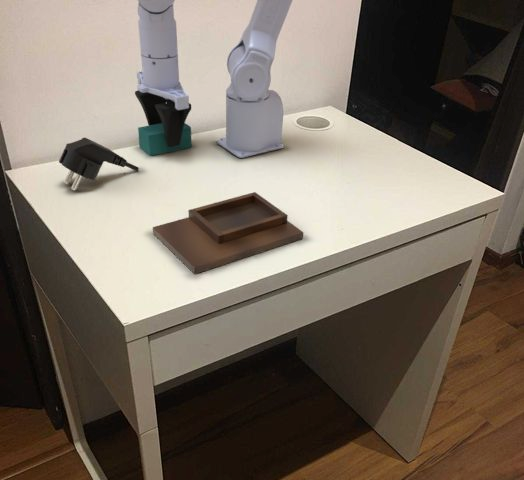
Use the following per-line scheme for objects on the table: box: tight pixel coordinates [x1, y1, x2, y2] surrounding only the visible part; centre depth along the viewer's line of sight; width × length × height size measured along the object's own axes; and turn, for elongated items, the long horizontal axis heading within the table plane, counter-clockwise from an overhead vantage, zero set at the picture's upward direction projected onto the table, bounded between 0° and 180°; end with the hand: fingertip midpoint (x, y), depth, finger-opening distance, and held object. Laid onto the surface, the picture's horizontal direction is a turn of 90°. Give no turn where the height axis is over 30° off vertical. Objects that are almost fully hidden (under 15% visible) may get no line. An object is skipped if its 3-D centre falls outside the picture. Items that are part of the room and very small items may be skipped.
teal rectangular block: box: [137, 122, 193, 157], centre depth 100 cm, size 8×4×4 cm, turn 124°
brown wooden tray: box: [152, 191, 304, 275], centre depth 79 cm, size 17×12×2 cm
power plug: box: [58, 137, 140, 192], centre depth 90 cm, size 6×8×12 cm
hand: (165, 139), depth 100 cm, fingers open, 5 cm apart
